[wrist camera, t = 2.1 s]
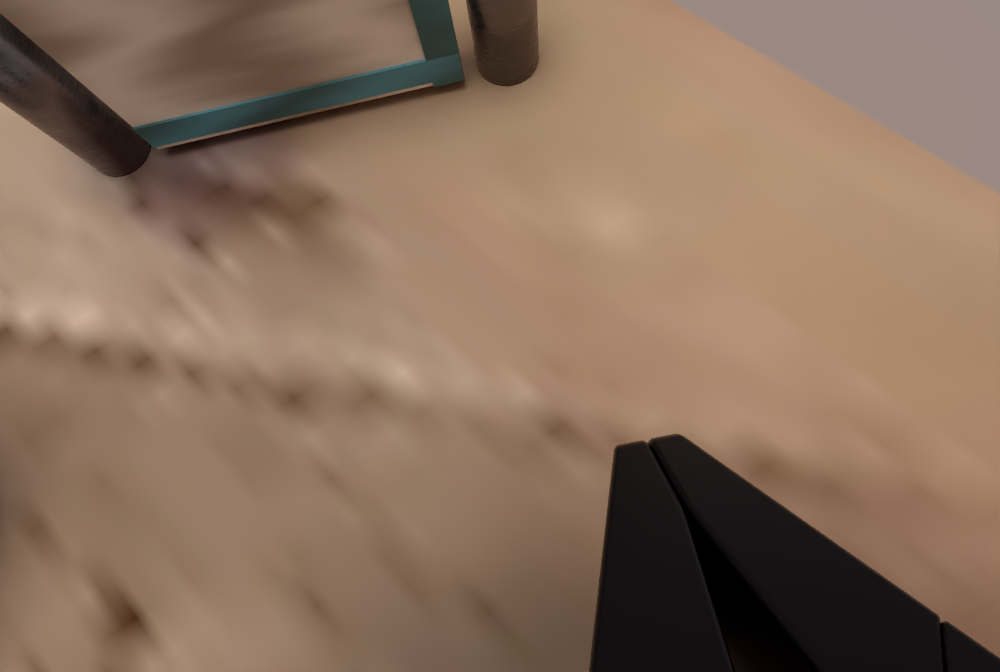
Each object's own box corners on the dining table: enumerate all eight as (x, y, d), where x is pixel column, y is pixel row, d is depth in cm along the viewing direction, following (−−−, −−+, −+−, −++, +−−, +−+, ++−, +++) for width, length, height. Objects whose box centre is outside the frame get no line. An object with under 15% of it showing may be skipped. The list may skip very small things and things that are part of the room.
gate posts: (93, 182, 24) (-123, 38, 16) (90, 128, 25) (-119, -34, 17) (544, 77, 24) (541, -122, 16) (531, 25, 24) (521, -191, 17)
